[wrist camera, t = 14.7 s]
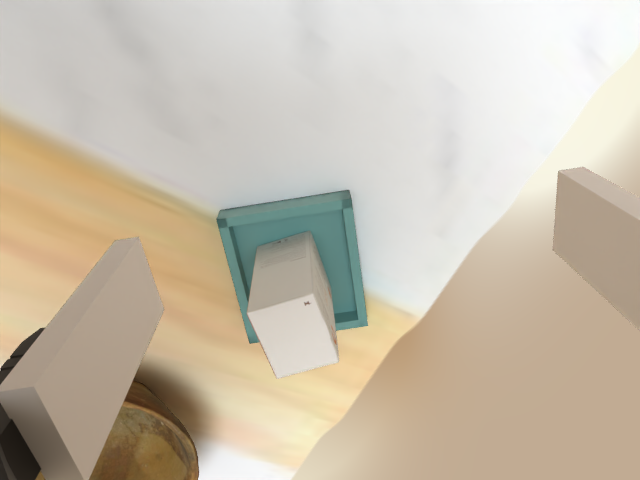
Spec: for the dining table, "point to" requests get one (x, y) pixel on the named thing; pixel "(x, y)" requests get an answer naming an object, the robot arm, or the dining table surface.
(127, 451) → the bowl
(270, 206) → the tray
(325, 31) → the dining table surface
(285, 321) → the small box
